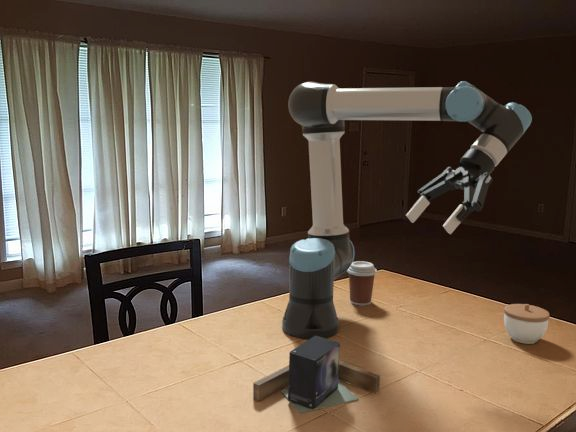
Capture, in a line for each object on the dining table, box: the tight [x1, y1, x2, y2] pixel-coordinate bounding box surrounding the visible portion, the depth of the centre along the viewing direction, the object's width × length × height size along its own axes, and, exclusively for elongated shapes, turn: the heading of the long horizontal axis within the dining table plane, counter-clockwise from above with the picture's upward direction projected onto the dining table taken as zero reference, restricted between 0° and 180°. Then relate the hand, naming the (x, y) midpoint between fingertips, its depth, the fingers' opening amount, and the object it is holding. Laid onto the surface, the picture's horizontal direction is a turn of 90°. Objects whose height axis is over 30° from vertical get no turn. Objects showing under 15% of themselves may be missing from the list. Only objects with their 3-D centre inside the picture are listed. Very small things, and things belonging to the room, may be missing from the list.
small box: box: [287, 336, 341, 409], centre depth 111 cm, size 11×6×10 cm, turn 148°
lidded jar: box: [503, 303, 550, 345], centre depth 142 cm, size 11×11×9 cm
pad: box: [280, 380, 359, 414], centre depth 113 cm, size 9×13×1 cm
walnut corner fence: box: [252, 360, 381, 402], centre depth 113 cm, size 17×20×4 cm
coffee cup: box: [346, 260, 378, 307], centre depth 168 cm, size 9×9×12 cm
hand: (427, 224), depth 128 cm, fingers open, 13 cm apart
